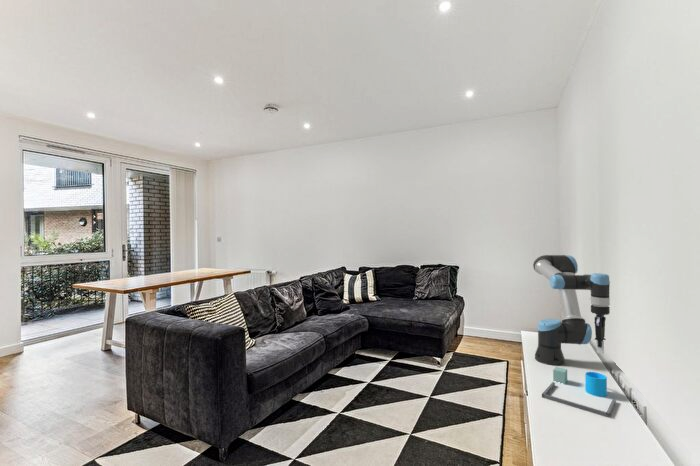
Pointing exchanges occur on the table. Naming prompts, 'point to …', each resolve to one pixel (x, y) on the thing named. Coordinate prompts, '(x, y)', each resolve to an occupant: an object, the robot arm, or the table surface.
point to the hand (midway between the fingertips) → (600, 353)
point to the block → (560, 375)
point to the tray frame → (606, 414)
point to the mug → (596, 384)
